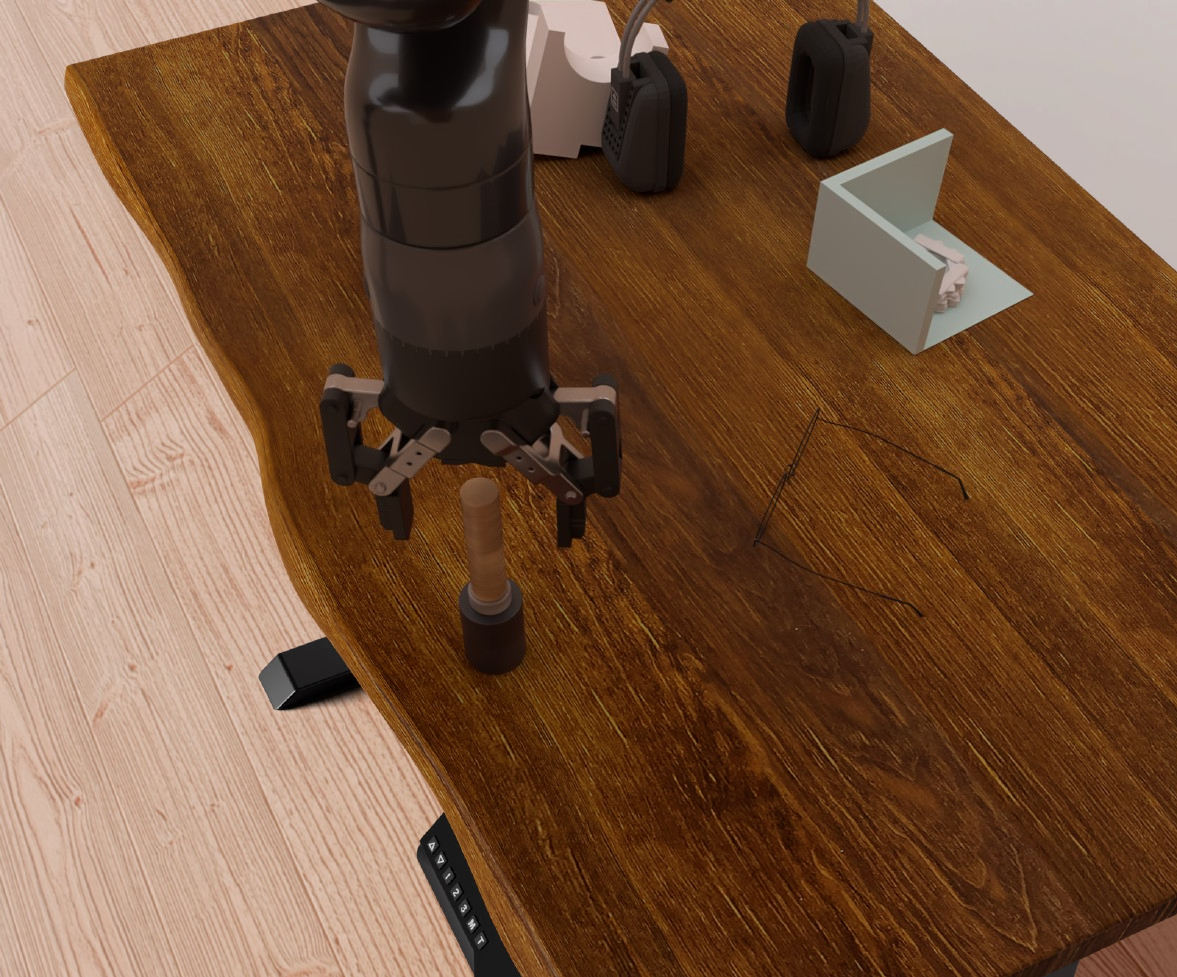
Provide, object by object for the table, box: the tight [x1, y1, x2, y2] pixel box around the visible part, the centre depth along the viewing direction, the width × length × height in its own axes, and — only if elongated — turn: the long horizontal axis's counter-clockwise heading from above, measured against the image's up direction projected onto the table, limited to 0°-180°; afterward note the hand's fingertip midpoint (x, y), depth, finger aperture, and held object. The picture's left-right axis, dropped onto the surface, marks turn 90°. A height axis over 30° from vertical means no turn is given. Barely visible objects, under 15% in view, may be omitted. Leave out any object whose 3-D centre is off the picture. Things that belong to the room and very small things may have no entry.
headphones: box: [601, 0, 875, 193], centre depth 98 cm, size 22×6×20 cm, turn 109°
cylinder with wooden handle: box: [458, 476, 527, 676], centre depth 70 cm, size 4×4×14 cm
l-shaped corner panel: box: [806, 127, 1034, 356], centre depth 93 cm, size 12×12×8 cm
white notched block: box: [526, 0, 670, 159], centre depth 107 cm, size 18×10×10 cm, turn 11°
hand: (484, 531), depth 67 cm, fingers open, 8 cm apart
